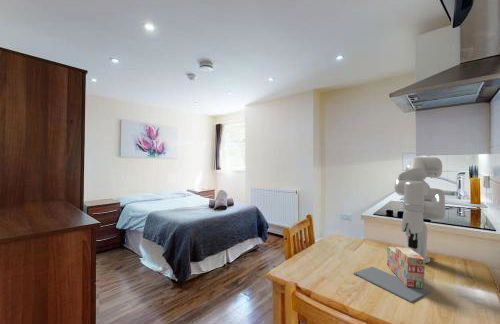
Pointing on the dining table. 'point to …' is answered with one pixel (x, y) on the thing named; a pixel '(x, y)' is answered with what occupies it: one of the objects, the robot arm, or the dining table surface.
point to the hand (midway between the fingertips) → (412, 247)
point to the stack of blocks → (407, 266)
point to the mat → (391, 284)
